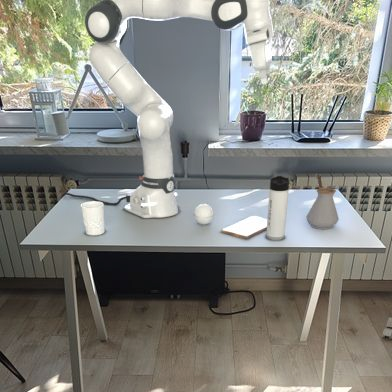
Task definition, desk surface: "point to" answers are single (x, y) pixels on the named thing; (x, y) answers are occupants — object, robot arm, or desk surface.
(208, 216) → the seamed sphere
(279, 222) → the travel mug
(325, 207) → the coffee pot
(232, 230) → the white flat rectangular slab
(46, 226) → the desk surface
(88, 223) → the white cup
